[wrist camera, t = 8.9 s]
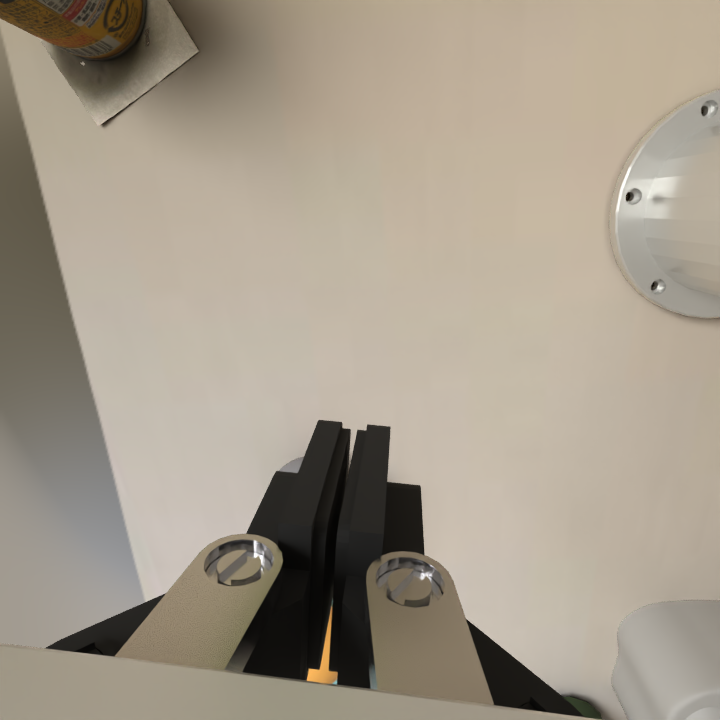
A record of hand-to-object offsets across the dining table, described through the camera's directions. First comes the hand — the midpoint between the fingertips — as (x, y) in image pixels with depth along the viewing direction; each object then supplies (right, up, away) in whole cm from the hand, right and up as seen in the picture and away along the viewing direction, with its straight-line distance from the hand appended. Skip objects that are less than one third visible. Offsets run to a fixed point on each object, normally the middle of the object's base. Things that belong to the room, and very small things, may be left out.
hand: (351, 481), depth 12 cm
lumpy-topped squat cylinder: (+26, -20, +27) cm, 43 cm away
